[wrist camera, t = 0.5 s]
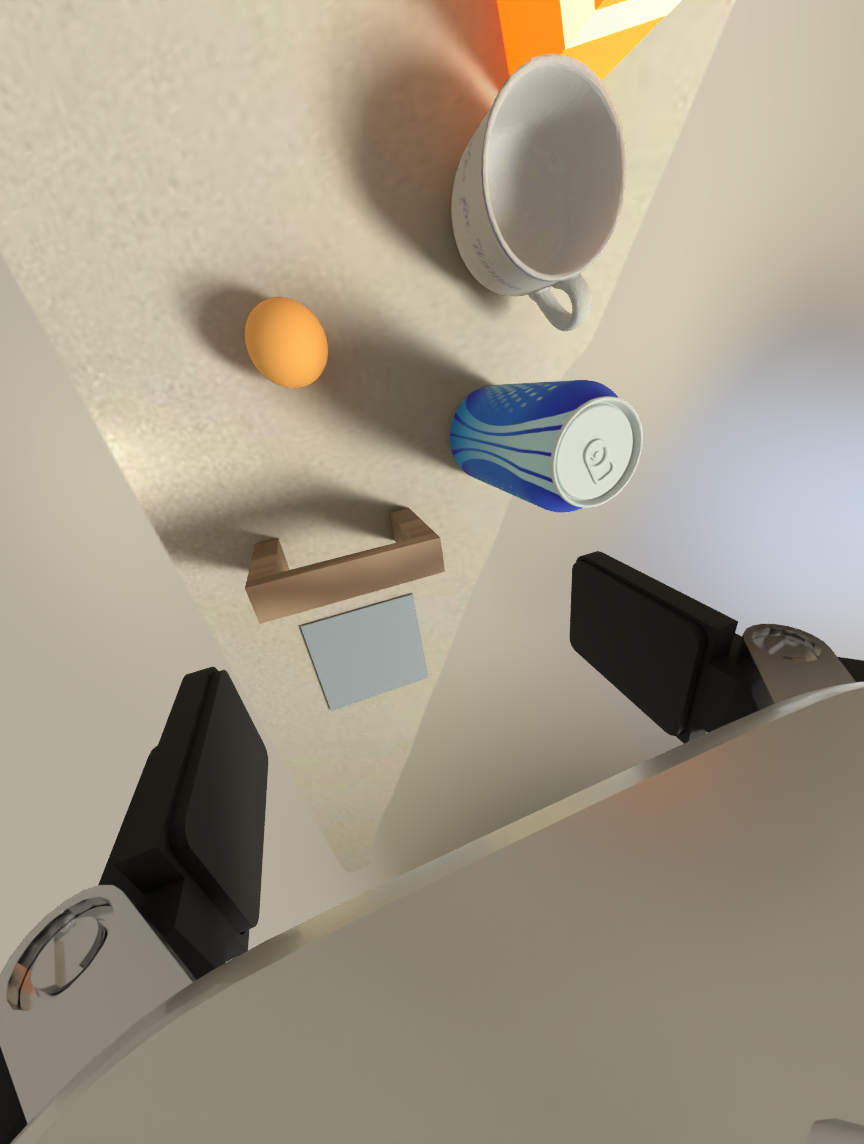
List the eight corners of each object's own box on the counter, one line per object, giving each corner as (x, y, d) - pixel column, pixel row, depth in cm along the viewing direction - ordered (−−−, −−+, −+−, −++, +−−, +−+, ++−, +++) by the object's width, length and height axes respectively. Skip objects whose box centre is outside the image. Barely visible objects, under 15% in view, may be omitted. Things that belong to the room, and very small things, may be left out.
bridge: (255, 544, 34) (244, 588, 26) (408, 507, 38) (440, 537, 30) (266, 573, 36) (259, 623, 28) (413, 535, 39) (444, 571, 31)
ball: (237, 310, 27) (226, 292, 23) (314, 302, 29) (318, 283, 24) (263, 393, 30) (258, 393, 25) (332, 383, 31) (340, 380, 26)
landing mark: (300, 625, 39) (300, 626, 39) (412, 593, 42) (412, 594, 41) (330, 709, 44) (331, 711, 44) (427, 676, 47) (428, 677, 47)
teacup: (419, 149, 27) (463, 66, 20) (549, 116, 29) (631, 28, 22) (467, 362, 34) (511, 354, 27) (570, 325, 36) (637, 308, 29)
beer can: (441, 477, 37) (529, 524, 24) (447, 382, 34) (553, 373, 20) (516, 476, 40) (634, 519, 26) (528, 388, 37) (671, 383, 23)
